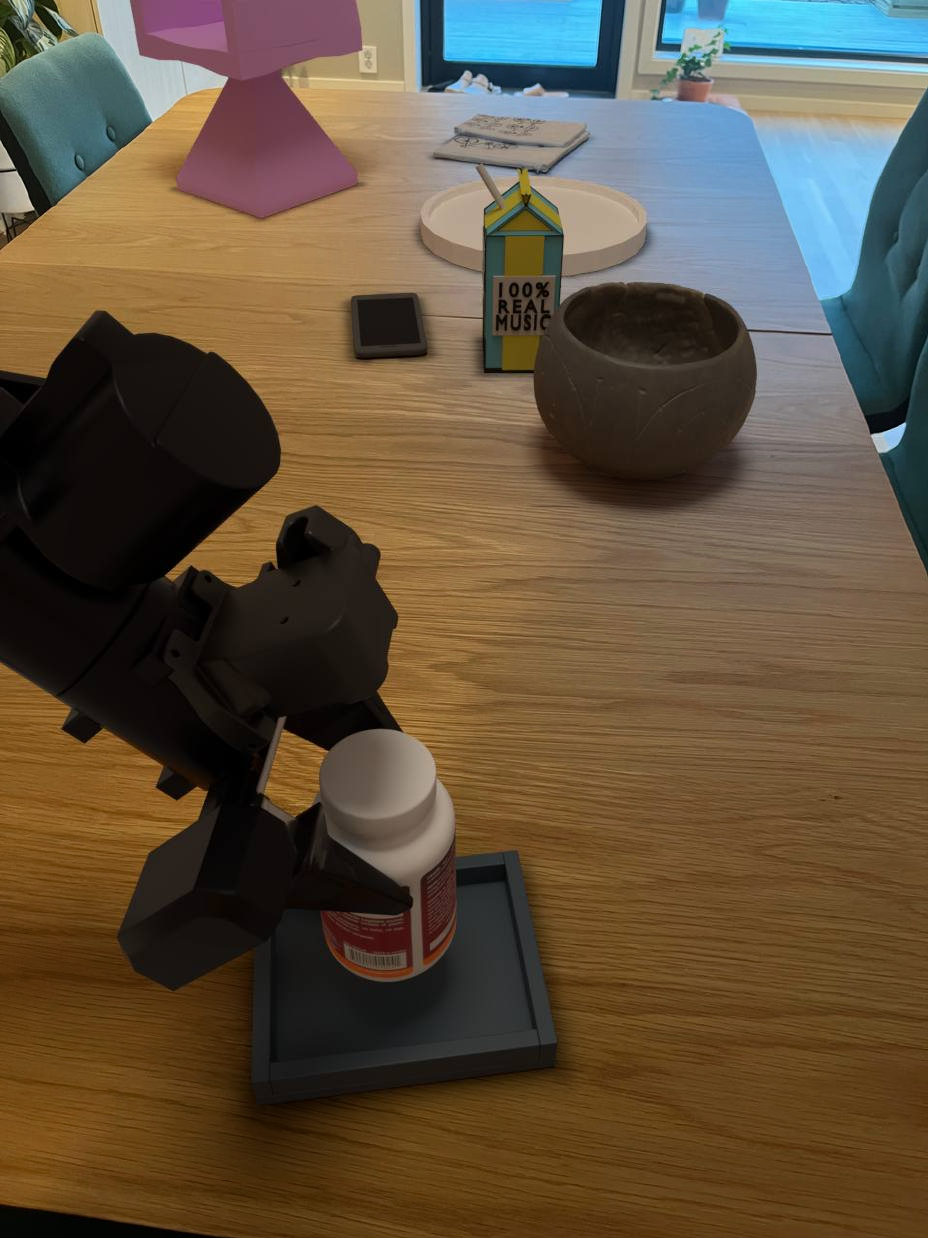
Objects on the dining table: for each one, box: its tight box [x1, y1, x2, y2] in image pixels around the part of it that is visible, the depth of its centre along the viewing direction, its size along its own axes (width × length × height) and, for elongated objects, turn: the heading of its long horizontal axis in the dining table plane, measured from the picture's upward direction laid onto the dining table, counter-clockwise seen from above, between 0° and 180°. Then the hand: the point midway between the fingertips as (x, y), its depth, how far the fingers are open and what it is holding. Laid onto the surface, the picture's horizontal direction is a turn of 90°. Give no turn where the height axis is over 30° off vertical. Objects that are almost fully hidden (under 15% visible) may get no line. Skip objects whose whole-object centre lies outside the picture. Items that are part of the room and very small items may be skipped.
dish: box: [250, 849, 558, 1106], centre depth 50 cm, size 14×11×2 cm
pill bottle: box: [310, 729, 457, 982], centre depth 44 cm, size 6×6×11 cm
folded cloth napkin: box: [433, 113, 591, 174], centre depth 153 cm, size 19×20×2 cm
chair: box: [129, 0, 363, 219], centre depth 131 cm, size 20×20×30 cm
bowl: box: [533, 281, 758, 481], centre depth 83 cm, size 18×18×13 cm
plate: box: [419, 175, 648, 277], centre depth 126 cm, size 28×28×2 cm
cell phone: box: [350, 292, 428, 359], centre depth 106 cm, size 7×14×1 cm, turn 6°
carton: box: [475, 163, 564, 374], centre depth 96 cm, size 7×8×18 cm
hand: (415, 842), depth 43 cm, fingers closed on pill bottle, 6 cm apart
